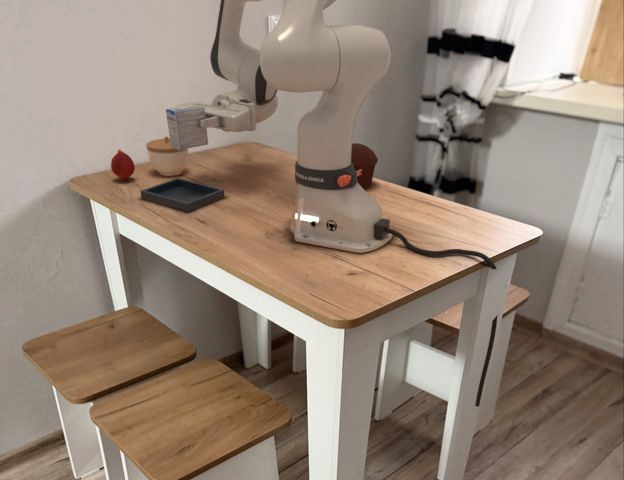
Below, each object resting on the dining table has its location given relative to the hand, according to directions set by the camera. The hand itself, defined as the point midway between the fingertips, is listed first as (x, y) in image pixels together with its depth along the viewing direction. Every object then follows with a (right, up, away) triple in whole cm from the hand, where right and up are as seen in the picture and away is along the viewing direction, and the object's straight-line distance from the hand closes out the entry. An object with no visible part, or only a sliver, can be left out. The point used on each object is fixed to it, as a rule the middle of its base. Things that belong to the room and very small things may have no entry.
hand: (189, 122), depth 139 cm
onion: (-20, -9, +17) cm, 28 cm away
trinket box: (-10, -5, +23) cm, 26 cm away
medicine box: (0, -5, +3) cm, 6 cm away
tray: (-3, -16, +6) cm, 17 cm away
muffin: (+40, -10, +17) cm, 44 cm away
